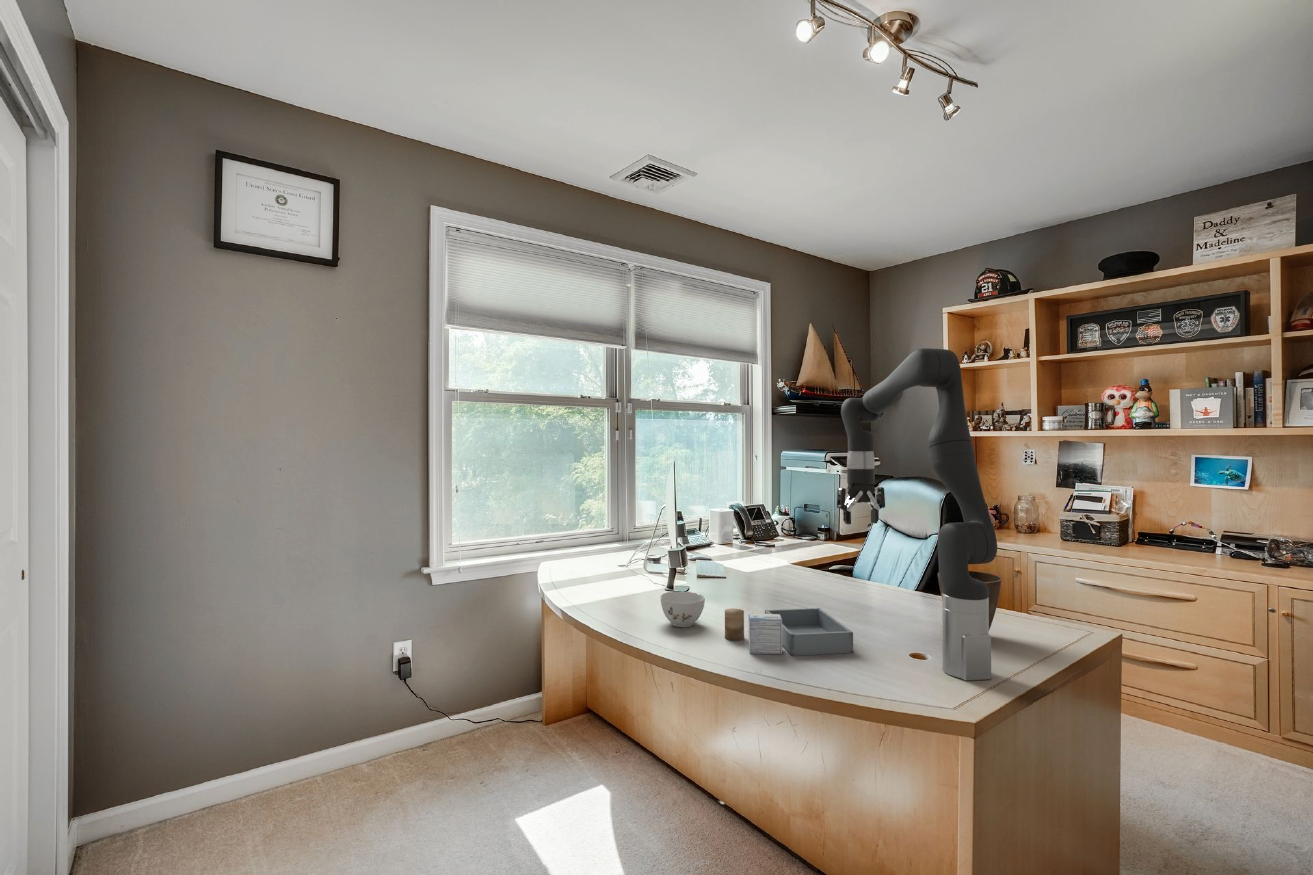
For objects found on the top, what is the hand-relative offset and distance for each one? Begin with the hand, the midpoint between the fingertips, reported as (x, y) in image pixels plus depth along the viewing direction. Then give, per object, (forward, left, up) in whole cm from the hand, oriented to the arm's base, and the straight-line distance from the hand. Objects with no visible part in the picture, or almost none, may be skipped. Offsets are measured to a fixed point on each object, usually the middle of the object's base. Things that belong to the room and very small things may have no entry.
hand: (861, 523), depth 179 cm
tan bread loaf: (-12, +40, -28) cm, 50 cm away
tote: (-16, +22, -27) cm, 39 cm away
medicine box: (-23, +35, -28) cm, 50 cm away
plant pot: (-19, -21, -28) cm, 39 cm away
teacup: (+2, +51, -28) cm, 58 cm away
